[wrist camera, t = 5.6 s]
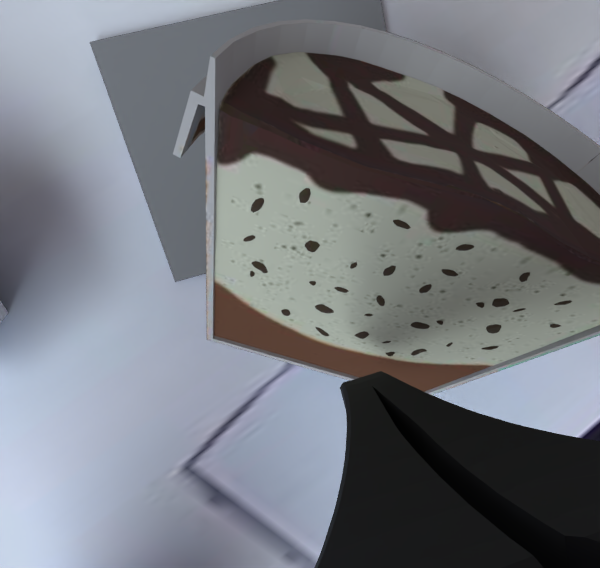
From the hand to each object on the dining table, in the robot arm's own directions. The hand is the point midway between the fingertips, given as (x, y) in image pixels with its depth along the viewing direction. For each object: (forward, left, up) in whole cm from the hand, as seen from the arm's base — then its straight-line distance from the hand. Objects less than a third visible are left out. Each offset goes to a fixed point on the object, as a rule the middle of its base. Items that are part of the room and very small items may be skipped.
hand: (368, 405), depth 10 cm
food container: (+1, 0, -6) cm, 6 cm away
